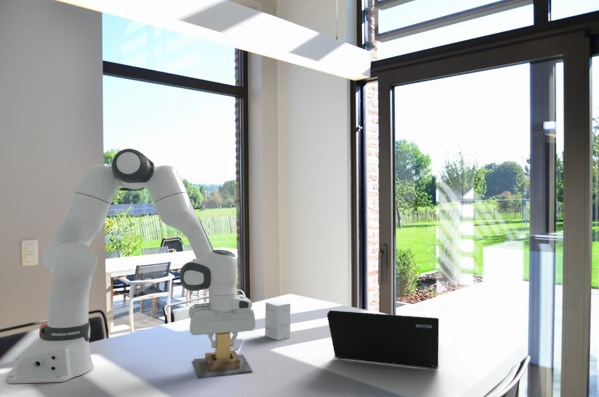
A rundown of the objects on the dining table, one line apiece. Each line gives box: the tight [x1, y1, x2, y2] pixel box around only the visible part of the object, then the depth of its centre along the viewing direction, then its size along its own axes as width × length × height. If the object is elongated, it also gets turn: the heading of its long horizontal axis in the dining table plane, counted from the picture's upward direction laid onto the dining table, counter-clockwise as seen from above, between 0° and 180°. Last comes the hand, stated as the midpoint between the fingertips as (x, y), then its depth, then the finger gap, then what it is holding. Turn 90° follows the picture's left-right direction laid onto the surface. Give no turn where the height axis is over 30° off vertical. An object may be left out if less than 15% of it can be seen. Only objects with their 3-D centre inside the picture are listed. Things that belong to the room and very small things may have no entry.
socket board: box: [193, 350, 253, 379], centre depth 143 cm, size 16×15×3 cm
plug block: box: [214, 332, 231, 361], centre depth 143 cm, size 4×4×8 cm
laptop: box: [326, 310, 440, 368], centre depth 153 cm, size 33×38×19 cm
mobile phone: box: [230, 338, 245, 355], centre depth 163 cm, size 8×1×15 cm
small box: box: [264, 300, 291, 341], centre depth 175 cm, size 8×6×13 cm
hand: (222, 346), depth 143 cm, fingers closed on plug block, 4 cm apart
